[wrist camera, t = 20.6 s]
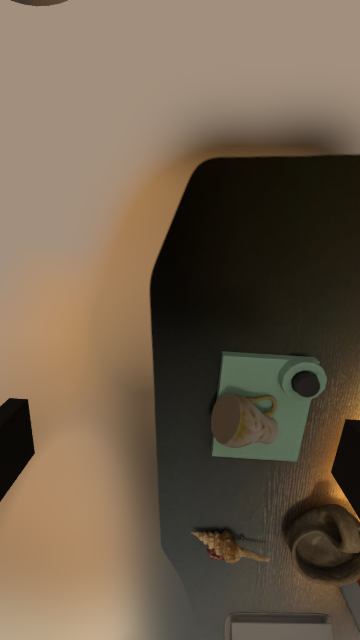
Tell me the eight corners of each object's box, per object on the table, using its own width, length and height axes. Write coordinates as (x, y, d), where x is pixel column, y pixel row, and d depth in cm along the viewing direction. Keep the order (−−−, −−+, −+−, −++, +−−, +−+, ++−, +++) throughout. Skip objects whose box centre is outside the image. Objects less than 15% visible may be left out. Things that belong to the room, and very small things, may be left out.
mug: (264, 441, 43) (244, 485, 35) (220, 396, 46) (191, 427, 38) (297, 416, 40) (282, 458, 31) (246, 368, 42) (221, 396, 34)
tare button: (293, 370, 38) (298, 376, 36) (316, 371, 38) (322, 377, 36) (289, 390, 39) (294, 396, 37) (312, 391, 39) (317, 398, 37)
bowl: (278, 548, 52) (298, 617, 42) (284, 476, 47) (308, 537, 38) (350, 548, 51) (387, 618, 42) (364, 476, 47) (410, 537, 37)
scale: (222, 347, 40) (225, 357, 37) (318, 353, 40) (330, 364, 37) (210, 448, 46) (212, 464, 42) (296, 454, 46) (305, 471, 42)
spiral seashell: (194, 545, 53) (195, 572, 48) (191, 527, 51) (192, 553, 47) (264, 541, 52) (271, 569, 48) (264, 522, 50) (271, 549, 46)
